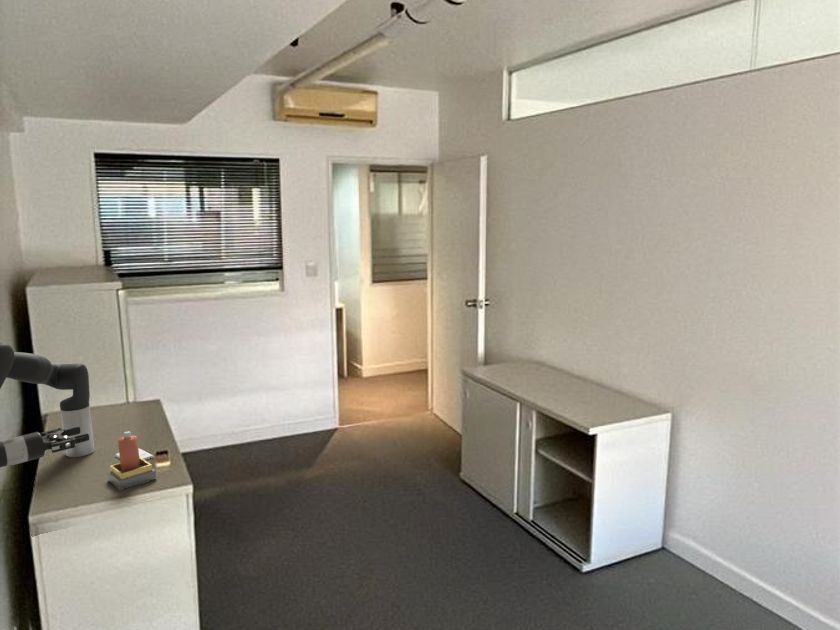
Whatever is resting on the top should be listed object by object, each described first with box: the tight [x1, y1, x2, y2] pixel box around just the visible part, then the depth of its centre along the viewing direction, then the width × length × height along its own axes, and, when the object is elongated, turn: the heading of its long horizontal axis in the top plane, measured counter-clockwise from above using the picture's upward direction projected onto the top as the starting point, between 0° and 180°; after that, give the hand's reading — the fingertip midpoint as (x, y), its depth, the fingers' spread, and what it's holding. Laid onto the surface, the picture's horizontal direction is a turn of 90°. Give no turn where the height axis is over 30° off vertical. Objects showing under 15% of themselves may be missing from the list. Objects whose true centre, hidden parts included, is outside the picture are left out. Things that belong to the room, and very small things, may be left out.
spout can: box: [117, 430, 140, 473], centre depth 196 cm, size 6×6×13 cm
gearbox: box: [107, 457, 157, 491], centre depth 197 cm, size 11×11×5 cm
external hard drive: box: [114, 447, 155, 461], centre depth 217 cm, size 2×8×12 cm
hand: (84, 433), depth 186 cm, fingers open, 8 cm apart
